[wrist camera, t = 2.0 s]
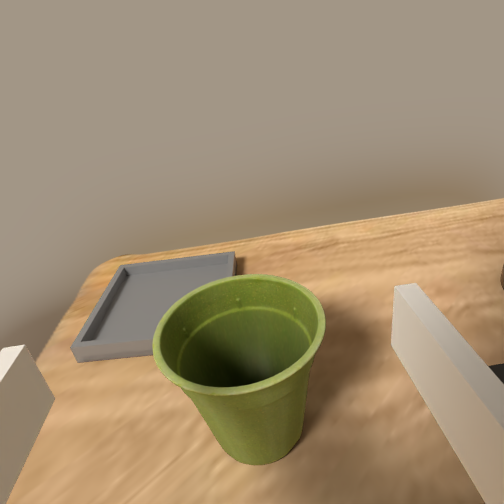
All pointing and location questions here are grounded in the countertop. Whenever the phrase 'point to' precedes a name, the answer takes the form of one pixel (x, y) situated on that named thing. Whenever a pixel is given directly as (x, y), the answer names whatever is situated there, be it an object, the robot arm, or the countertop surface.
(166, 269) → the tray
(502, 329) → the countertop surface
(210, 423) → the plant pot
